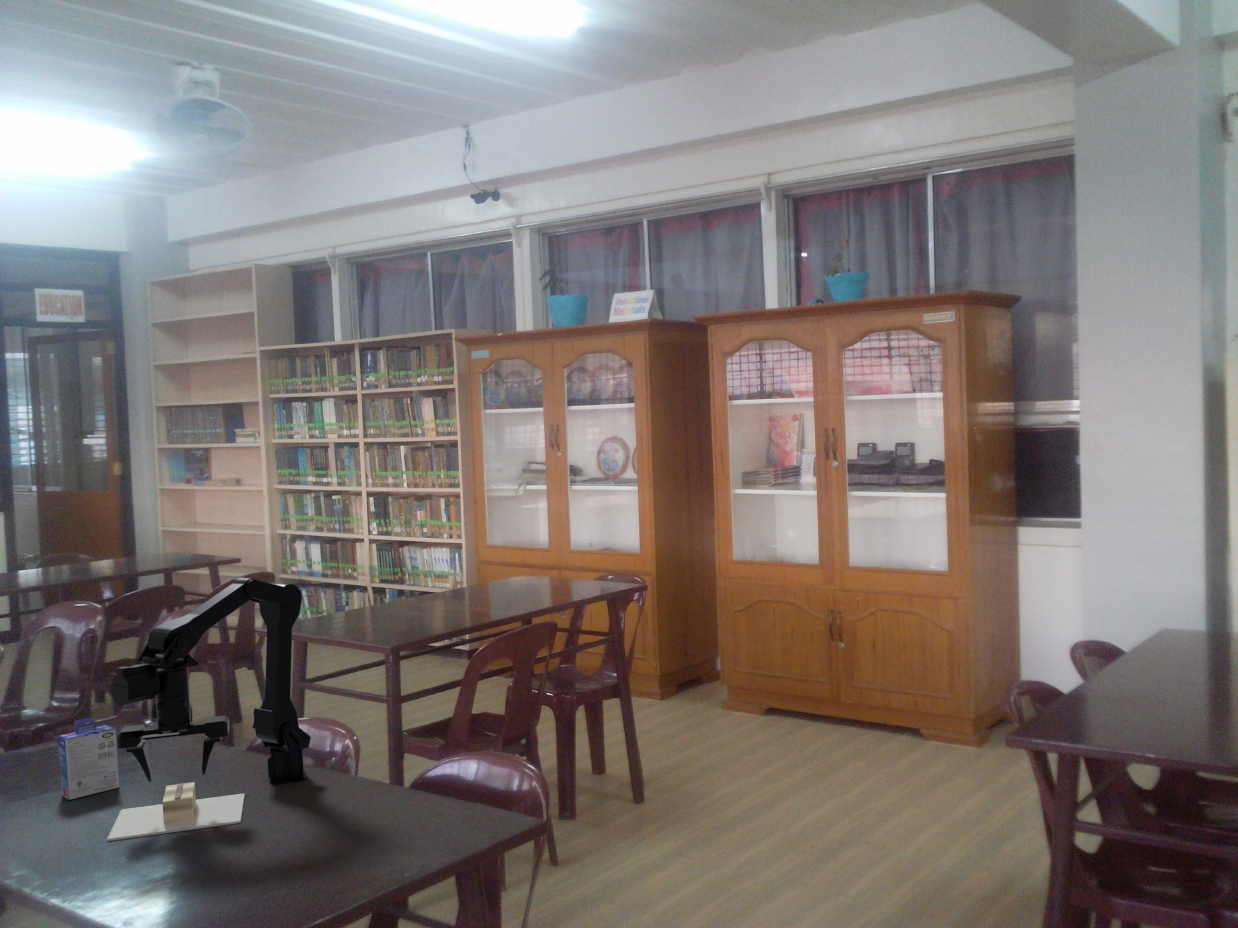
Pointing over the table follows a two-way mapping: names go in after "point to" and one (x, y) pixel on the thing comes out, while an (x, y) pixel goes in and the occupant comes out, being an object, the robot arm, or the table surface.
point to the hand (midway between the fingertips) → (177, 777)
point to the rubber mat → (152, 823)
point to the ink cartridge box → (88, 760)
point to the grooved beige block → (179, 803)
